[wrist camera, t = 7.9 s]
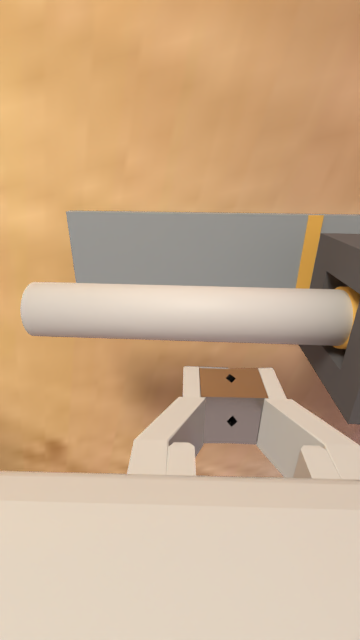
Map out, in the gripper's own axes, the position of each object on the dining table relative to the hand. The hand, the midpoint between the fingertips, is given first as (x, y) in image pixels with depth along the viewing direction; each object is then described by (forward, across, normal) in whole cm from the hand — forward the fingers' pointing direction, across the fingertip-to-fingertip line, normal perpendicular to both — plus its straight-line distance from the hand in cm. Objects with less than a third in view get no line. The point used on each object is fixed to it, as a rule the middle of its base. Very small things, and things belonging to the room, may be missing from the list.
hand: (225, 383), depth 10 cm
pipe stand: (+14, -2, 0) cm, 15 cm away
